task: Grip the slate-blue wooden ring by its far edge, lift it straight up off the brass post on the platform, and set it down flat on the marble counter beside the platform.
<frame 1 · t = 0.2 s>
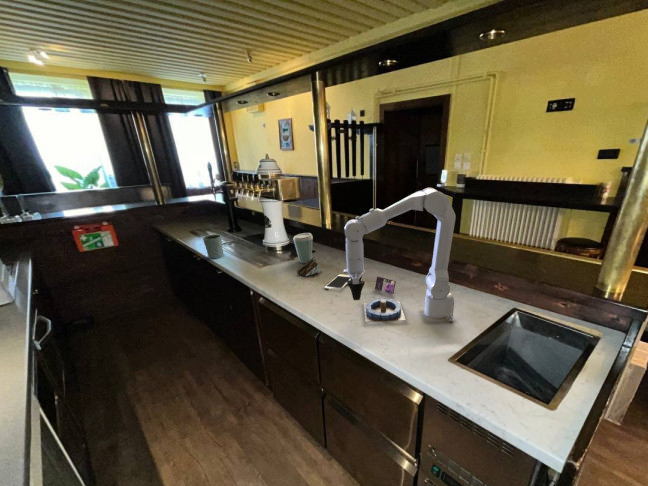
hand: (356, 294, 104), 10 cm above the worktop, tool pointing down, fingers open, 7 cm apart
chocolate cake: (310, 274, 150), on the worktop
cell phone: (339, 283, 138), on the worktop
platform: (383, 314, 111), on the worktop
ring: (383, 310, 110), point 1 cm above the worktop, touching platform
disposable coffee cup: (305, 261, 168), on the worktop
purple printed box: (386, 293, 127), on the worktop
grey green cup: (216, 256, 183), on the worktop
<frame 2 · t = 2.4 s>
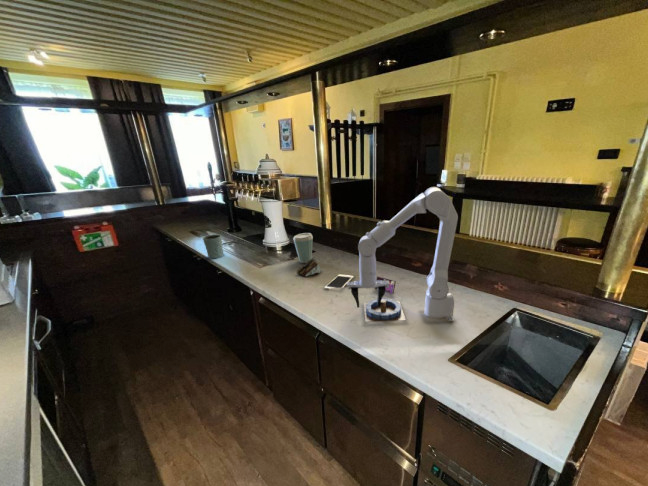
hand: (368, 305, 109), 4 cm above the worktop, tool pointing down, fingers open, 7 cm apart
nothing on the worktop moved.
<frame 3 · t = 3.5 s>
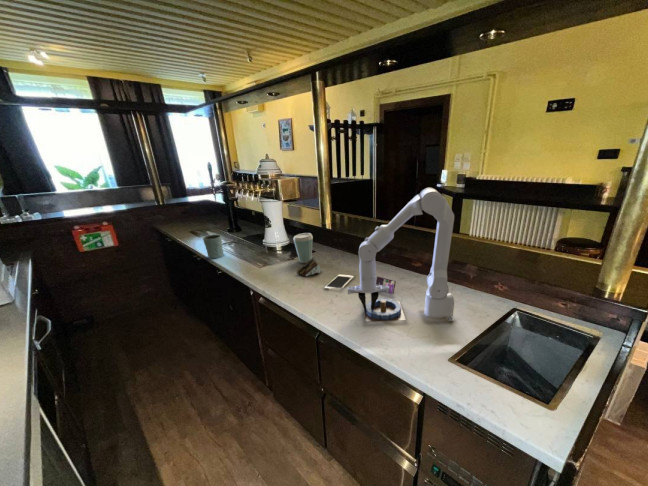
hand: (368, 310, 110), 2 cm above the worktop, tool pointing down, fingers closed on ring, 2 cm apart
ring: (383, 310, 110), point 2 cm above the worktop, touching gripper
everything else where it was.
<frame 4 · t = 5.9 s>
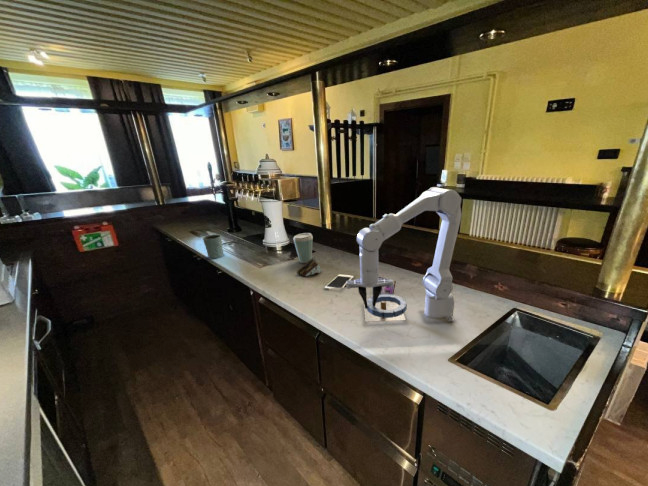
hand: (369, 307, 98), 9 cm above the worktop, tool pointing down, fingers closed on ring
ring: (386, 307, 98), point 8 cm above the worktop, touching gripper
everything else where it was.
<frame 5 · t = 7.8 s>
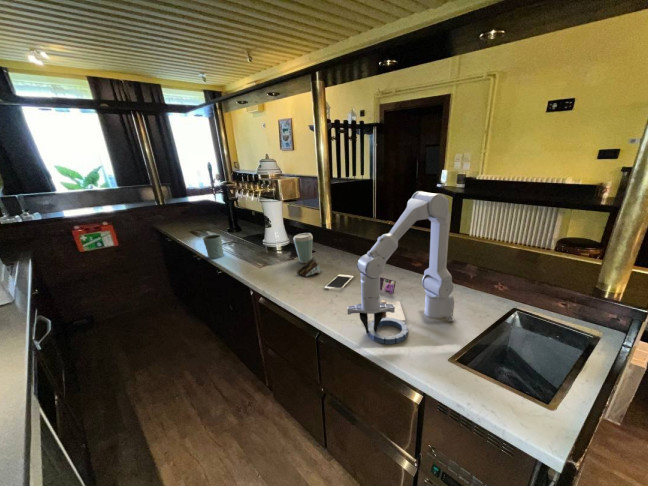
hand: (371, 331, 97), 2 cm above the worktop, tool pointing down, fingers closed on ring, 2 cm apart
ring: (387, 332, 97), point 2 cm above the worktop, touching gripper
everything else where it was.
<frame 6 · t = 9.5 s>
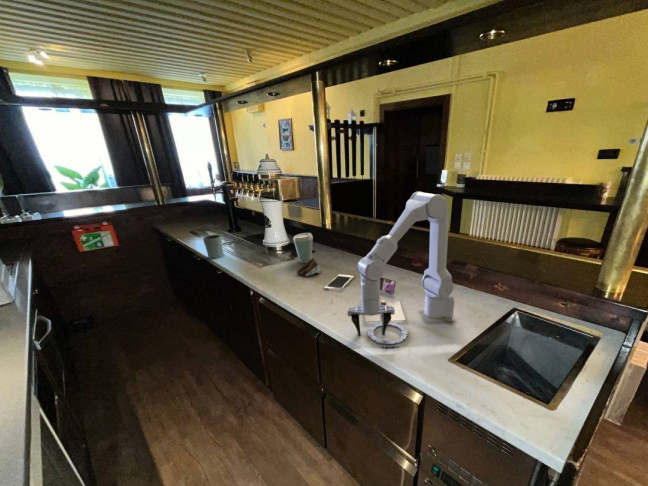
hand: (371, 333, 97), 2 cm above the worktop, tool pointing down, fingers open, 7 cm apart
ring: (387, 336, 98), on the worktop
everything else where it was.
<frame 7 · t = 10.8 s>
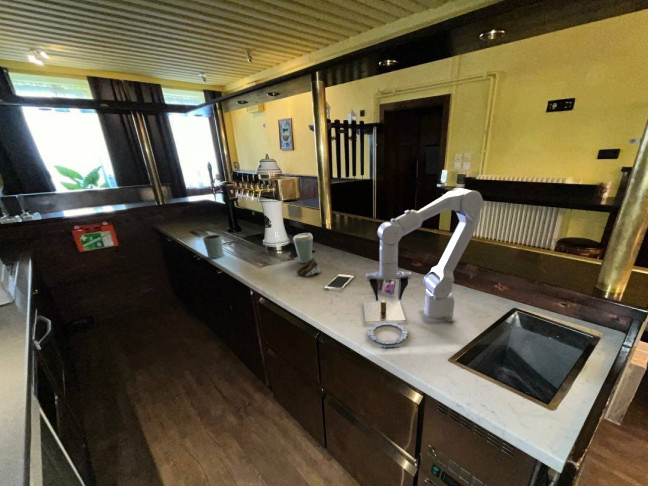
hand: (388, 299, 101), 9 cm above the worktop, tool pointing down, fingers open, 7 cm apart
nothing on the worktop moved.
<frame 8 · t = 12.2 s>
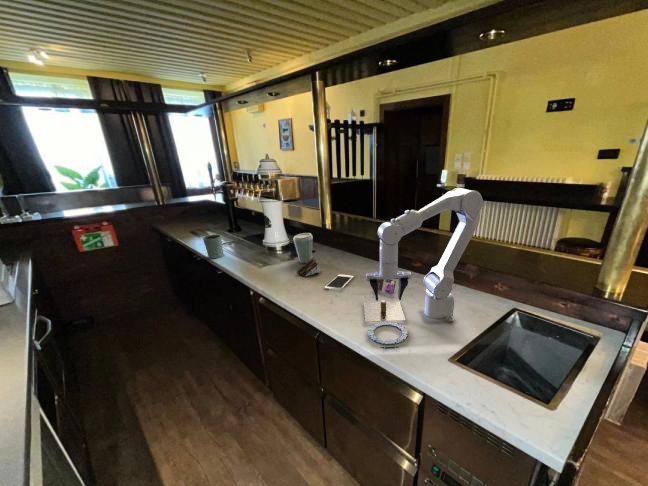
hand: (388, 299, 101), 9 cm above the worktop, tool pointing down, fingers open, 7 cm apart
nothing on the worktop moved.
at the end: ring inside the target area (0.4 cm from its centre), on the worktop; ring touching worktop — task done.
